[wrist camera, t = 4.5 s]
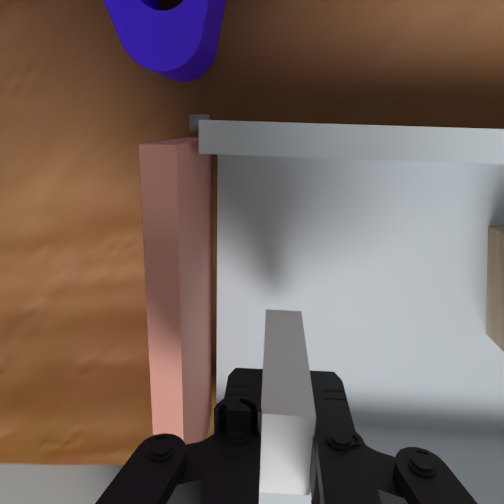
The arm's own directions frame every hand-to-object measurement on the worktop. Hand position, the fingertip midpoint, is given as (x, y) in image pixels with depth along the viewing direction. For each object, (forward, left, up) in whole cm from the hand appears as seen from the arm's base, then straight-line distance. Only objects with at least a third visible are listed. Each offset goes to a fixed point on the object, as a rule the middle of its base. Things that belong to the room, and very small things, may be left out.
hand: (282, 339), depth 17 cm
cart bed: (+8, 0, -8) cm, 11 cm away
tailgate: (-6, 0, -1) cm, 6 cm away
